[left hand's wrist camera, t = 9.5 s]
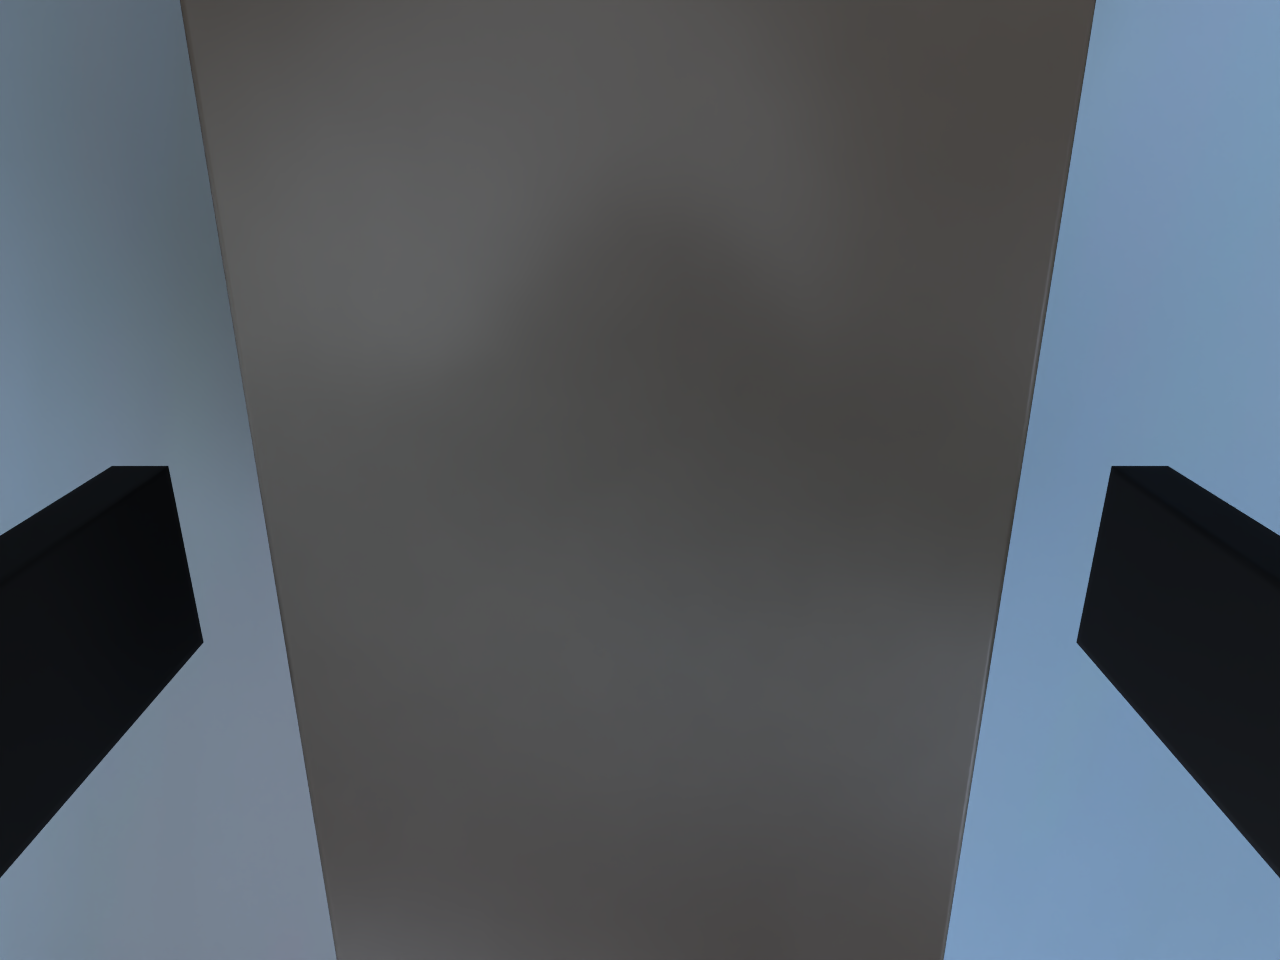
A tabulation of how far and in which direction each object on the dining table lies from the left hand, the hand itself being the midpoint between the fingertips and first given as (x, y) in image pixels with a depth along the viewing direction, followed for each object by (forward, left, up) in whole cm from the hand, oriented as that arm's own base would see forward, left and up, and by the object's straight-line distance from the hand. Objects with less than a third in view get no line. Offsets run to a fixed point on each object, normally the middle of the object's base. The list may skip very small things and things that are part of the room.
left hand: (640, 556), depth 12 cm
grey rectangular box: (+5, -4, -7) cm, 10 cm away
